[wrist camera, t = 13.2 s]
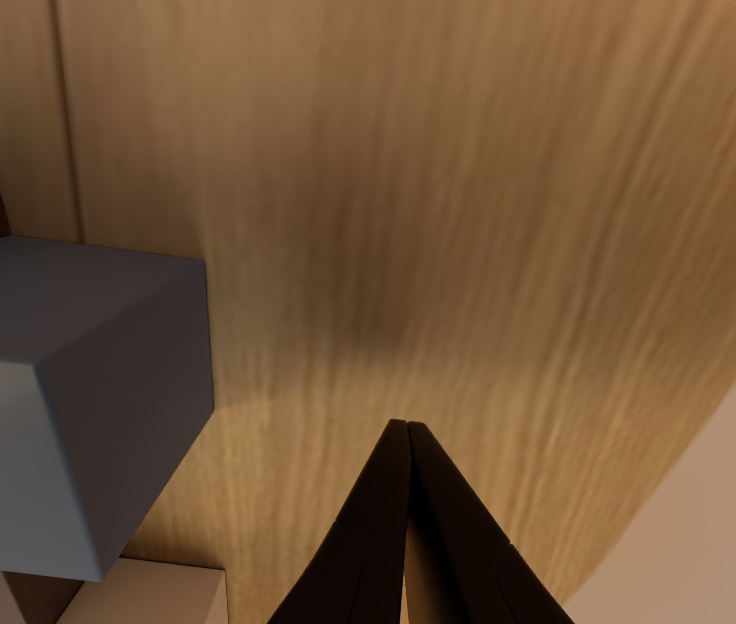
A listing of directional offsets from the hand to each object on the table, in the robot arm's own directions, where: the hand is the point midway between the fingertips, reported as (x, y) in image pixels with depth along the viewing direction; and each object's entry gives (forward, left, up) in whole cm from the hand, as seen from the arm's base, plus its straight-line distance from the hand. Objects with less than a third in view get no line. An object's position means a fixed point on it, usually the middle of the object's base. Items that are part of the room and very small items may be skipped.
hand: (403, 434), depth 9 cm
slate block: (+8, -1, -2) cm, 8 cm away
